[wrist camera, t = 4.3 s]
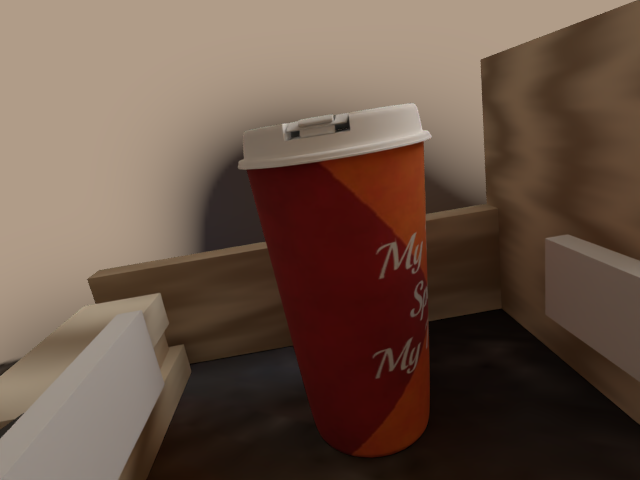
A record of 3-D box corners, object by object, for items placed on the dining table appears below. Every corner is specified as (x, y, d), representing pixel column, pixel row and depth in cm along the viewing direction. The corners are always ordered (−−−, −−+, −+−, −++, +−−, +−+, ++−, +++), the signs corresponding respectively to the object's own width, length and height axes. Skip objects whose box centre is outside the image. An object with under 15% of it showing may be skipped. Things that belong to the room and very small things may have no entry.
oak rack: (812, 518, 12) (962, -106, 8) (-104, 696, 11) (-507, 125, 7) (511, 294, 28) (505, 55, 24) (130, 362, 28) (52, 129, 23)
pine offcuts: (78, 641, 12) (5, 487, 10) (-102, 676, 12) (-206, 525, 10) (191, 371, 25) (167, 285, 24) (107, 386, 25) (77, 301, 24)
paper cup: (469, 481, 15) (442, 94, 11) (276, 479, 17) (194, 136, 13) (441, 361, 22) (419, 103, 19) (309, 367, 24) (264, 129, 20)
